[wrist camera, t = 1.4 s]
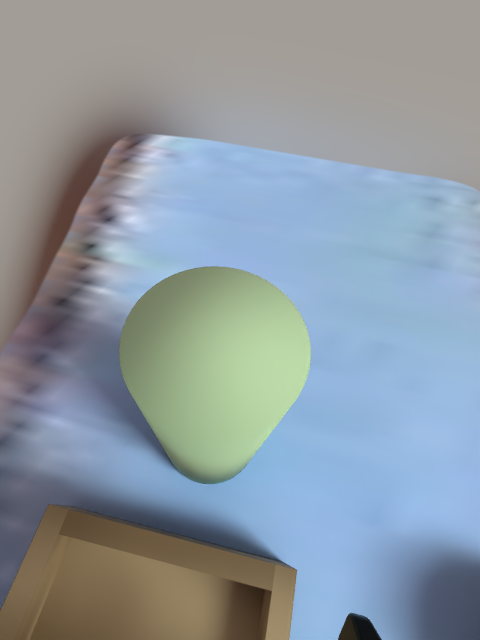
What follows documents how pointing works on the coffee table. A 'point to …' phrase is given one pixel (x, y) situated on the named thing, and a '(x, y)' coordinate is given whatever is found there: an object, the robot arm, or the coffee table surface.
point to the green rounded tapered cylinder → (214, 366)
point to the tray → (141, 585)
